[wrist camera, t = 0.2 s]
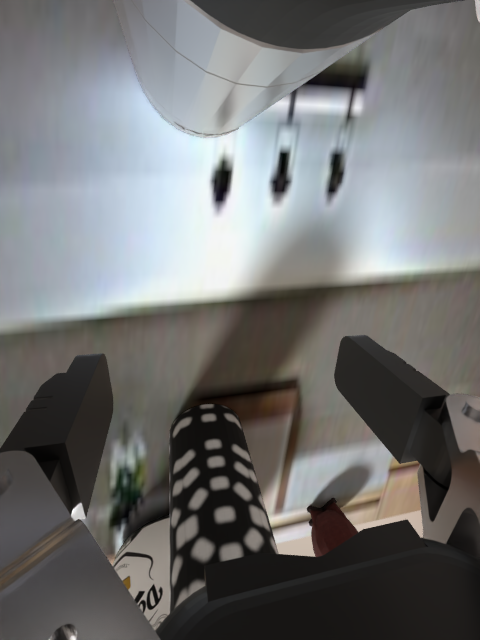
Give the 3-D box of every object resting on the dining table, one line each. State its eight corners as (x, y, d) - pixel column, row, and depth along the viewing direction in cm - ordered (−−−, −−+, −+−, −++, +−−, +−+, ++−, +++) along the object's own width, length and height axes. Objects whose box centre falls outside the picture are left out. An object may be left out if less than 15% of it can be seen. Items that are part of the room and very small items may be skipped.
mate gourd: (350, 500, 48) (419, 625, 34) (320, 530, 50) (374, 658, 36) (317, 491, 45) (380, 624, 31) (287, 524, 47) (333, 661, 33)
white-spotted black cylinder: (170, 461, 35) (172, 744, 18) (168, 407, 32) (167, 694, 14) (238, 452, 37) (301, 700, 20) (243, 400, 34) (324, 646, 16)
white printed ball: (102, 514, 37) (52, 769, 21) (238, 487, 40) (283, 689, 24) (124, 584, 44) (100, 811, 28) (237, 557, 48) (271, 746, 32)
